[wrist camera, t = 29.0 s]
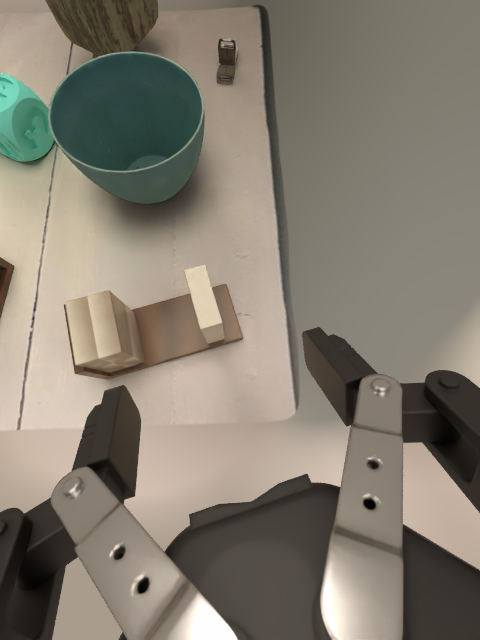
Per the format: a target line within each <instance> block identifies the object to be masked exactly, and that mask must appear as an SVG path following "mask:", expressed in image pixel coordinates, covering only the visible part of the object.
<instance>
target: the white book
mask: <svg viewBox="0 0 480 640" xmlns="http://www.w3.org/2000/svg"><path fill="white" fill-rule="evenodd" d="M184 273H185V276H186V280H187V283H188V287H189V290H190V294H191V298H192V301H193V305H194V308H195V312H196V315H197V319H198V323H199V326H200V329H201V331H202V334H203V336H204V338H205V340H206V342H207V344H210V343H213V342H216V341H220V340H223V339H225V336H224V330H223V324H222V320H221V316H220V313H219V310H218V306H217V303H216V300H215V297H214V293H213V290H212V287H211V283H210V280H209V277H208V273H207V270H206V267H205V265H202V266H198V267H194V268H191V269H187V270H184Z"/></svg>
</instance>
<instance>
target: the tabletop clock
mask: <svg viewBox="0 0 480 640" xmlns="http://www.w3.org/2000/svg"><path fill="white" fill-rule="evenodd" d="M46 2H47V4H48V6H49V8H50V9H51V11H52V13H53V15H54V17H55V19H56V21H57V23H58V24H59V26H60V28H61V29H62V31H63V32H64V34H65V35H66V36H67V37H68V39H69V40H70V41H71V42H72V43H74V44H76V45H78V46H80V47H82V48H84V49H86V50H88V51H90V52H92V53H93V59H94V58H97V57H98V56H102V55H106V54H110V53H117V52H130V51H132V49H133V48H134V47H135V46H136V45H137V44H139V43H140V42H141V41H142V39H143V38H144V37H145V36H146V35H147V34H148V32H149V31H150V30H151V29H152V28H153V26H154V25H155V23H156V20H157V18H158V2H157V0H46ZM132 52H133V51H132Z"/></svg>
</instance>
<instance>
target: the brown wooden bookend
mask: <svg viewBox="0 0 480 640" xmlns="http://www.w3.org/2000/svg"><path fill="white" fill-rule="evenodd" d="M13 269H14V265H12V264H10V263H9V262H7V261H5V260H4V259H2V258H0V316H1V313H2V309H3V305H4V302H5V298H6V294H7V291H8V287H9V283H10V280H11V276H12V272H13Z"/></svg>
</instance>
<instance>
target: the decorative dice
mask: <svg viewBox="0 0 480 640" xmlns="http://www.w3.org/2000/svg"><path fill="white" fill-rule="evenodd" d="M53 142H54V138H53V136H52V134H51V131H50V128H49V123H48V108H47V106H46V105H45V104H44V102H43V101H42V100H41V99H40V98H39V97H38V96H37V95H36V94H35V93H34V92H33V91H32V90H31V89H30V88H29V87H27V86H26V85H25V84H23V83H22V82H21V81H19V80H17V79H16V78H14V77H12V76H10V75H7V74H3V73H0V153H2V154H3V155H5V156H7V157H9V158H11V159H13V160H16V161H21V162H27V161H33V160H36V159H39V158H41V157H42V156H44V155H45V154H46V153H47V152H48V151H49V150H50V148H51V147H52V145H53Z"/></svg>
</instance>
